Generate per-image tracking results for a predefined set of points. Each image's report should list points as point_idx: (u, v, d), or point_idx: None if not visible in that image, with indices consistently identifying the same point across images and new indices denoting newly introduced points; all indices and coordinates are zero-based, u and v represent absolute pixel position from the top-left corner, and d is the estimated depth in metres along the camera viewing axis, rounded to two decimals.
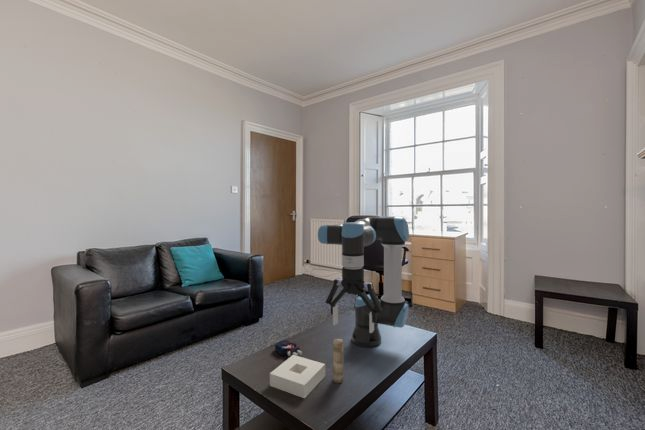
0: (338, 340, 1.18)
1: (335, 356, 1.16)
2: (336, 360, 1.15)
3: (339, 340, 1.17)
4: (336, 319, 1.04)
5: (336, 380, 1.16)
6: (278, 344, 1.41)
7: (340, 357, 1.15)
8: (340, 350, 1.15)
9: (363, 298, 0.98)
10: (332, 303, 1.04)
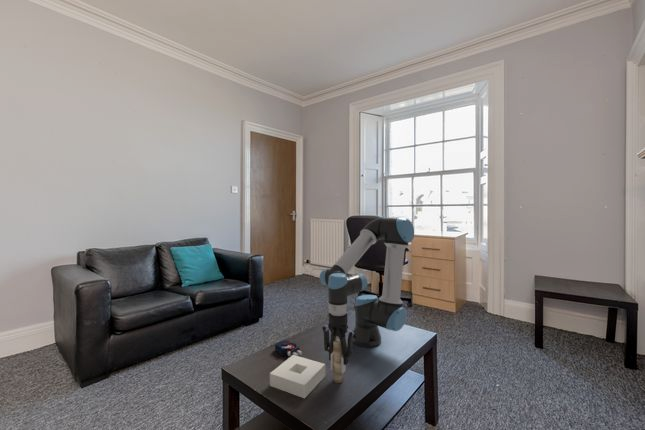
0: (338, 340, 1.17)
1: (335, 356, 1.16)
2: (336, 360, 1.15)
3: (339, 340, 1.17)
4: None
5: (336, 380, 1.16)
6: (278, 344, 1.41)
7: (340, 357, 1.15)
8: (340, 350, 1.15)
9: (341, 342, 1.15)
10: (329, 350, 1.18)
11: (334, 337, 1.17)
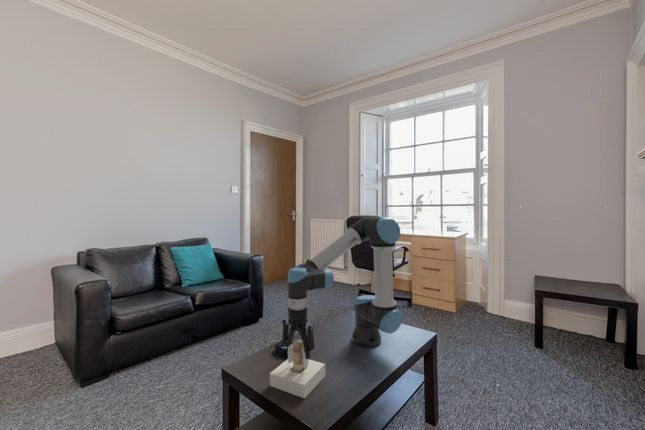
0: (298, 341, 1.17)
1: (294, 357, 1.15)
2: (296, 361, 1.15)
3: (299, 341, 1.17)
4: (291, 357, 1.18)
5: None
6: (278, 344, 1.41)
7: (299, 358, 1.15)
8: (299, 351, 1.15)
9: (302, 336, 1.14)
10: (287, 343, 1.18)
11: (293, 331, 1.17)
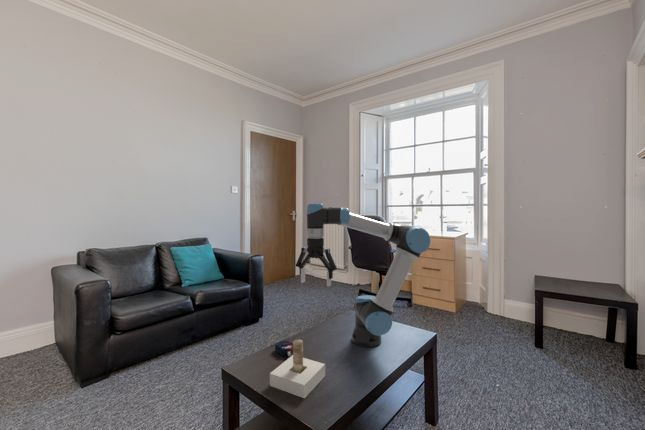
0: (298, 341, 1.17)
1: (294, 357, 1.15)
2: (295, 361, 1.15)
3: (299, 341, 1.17)
4: (303, 278, 1.36)
5: None
6: (278, 344, 1.40)
7: (299, 358, 1.15)
8: (299, 351, 1.15)
9: (322, 260, 1.29)
10: (300, 266, 1.35)
11: (309, 258, 1.33)
